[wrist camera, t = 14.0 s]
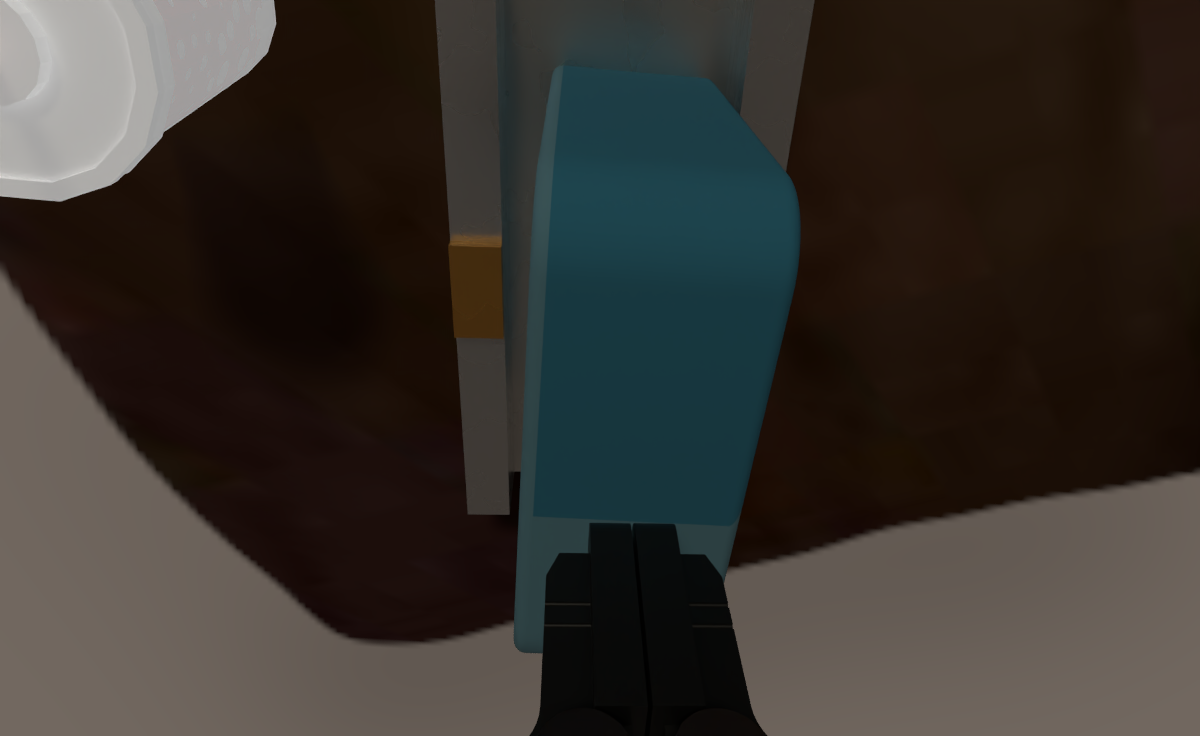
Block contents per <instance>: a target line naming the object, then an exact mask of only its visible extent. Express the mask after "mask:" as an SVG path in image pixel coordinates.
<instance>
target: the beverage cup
mask: <svg viewBox="0 0 1200 736" xmlns="http://www.w3.org/2000/svg"><path fill="white" fill-rule="evenodd" d="M275 26H276V17H275V8H274V0H0V196H5V197H16V198H27V199H38V200H50V201H63V200H66V199H69V198H72V197H75V196H78V195H81V194H84V193H87V192H90V191H94V190H97V189H100V188H103V187H106V186H109V185H111V184H113V183H115V182H117V181H118V180H119V179H120V178H121V177H122V176H123V175H124V174H126V173H129V172H130V171H131V170H132V169H133V168H134V167H135V166H136V165H137V163H138V162H139V161H140V160H141V159H142V158H143V157H144V156H145V155H146V154H147V153H148V152H149V151H150V149H151V148H152V147H153V146H154V145H155V144H156V143H157V142H158V141H159V140H160V139H161V138H162V136H163V132H165V131H166V130H167V129H169V128H170V127H172V126H173V125H175V124H176V123H177V122H179V121H180V120H182V119H183V118H185V117H186V116H187V115H189V114H190V113H192V112H193V111H194V110H196V109H197V108H199V107H200V106H202V105H203V104H204V103H206V102H207V101H209V100H210V99H212V98H213V97H214V96H216V95H217V94H219V93H220V92H221V91H223V90H224V89H226V88H227V87H229V86H230V85H231V84H233V83H234V82H236V81H237V80H239V79H240V78H241V77H243V76H244V75H246V74H247V73H248V72H249V71H250V70H251V69H252V68H253V67H254V66H255V65H256V64H257V63H258V62H259V61H260V60H261V59H262V58H263V57H264V56H265V55H266V53H267V52H268V49H269V46H270V42H271V39H272V36H273V32H274V29H275Z"/></svg>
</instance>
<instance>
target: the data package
mask: <svg viewBox="0 0 1200 736" xmlns="http://www.w3.org/2000/svg"><path fill="white" fill-rule="evenodd" d="M799 253H800V212H799V204H798V198H797V194H796V190H795V187H794V185H793V182H792V180H791V179H790V177H789V175H788V174H787V173H786V172H785V170H784V169H783V168H782V167H781V165H780V164H779V163H778V162H777V160H776V159H775V158H774V157H773V156H772V154H771V153H770V152H769V151H768V149H767V148H766V147H765V146H764V144H763V143H762V142H761V141H760V139H759V138H758V137H757V136H756V135H755V133H754V132H753V131H752V130H751V128H750V127H749V126H748V125H747V123H746V122H745V121H744V120H743V118H742V117H741V116H740V115H739V114H738V112H737V111H736V110H735V109H734V107H733V106H732V105H731V104H730V102H729V101H728V100H727V99H726V97H725V96H724V95H723V94H722V92H721V91H720V90H719V89H718V88H717V86H716V85H715V84H714V83H713V82H712V81H711V80H710V79H707V78H698V77H687V76H676V75H665V74H653V73H642V72H631V71H620V70H608V69H597V68H586V67H575V66H563V65H562V66H558V67H557V68H555V70H554V71H553V74H552V79H551V85H550V91H549V97H548V103H547V109H546V115H545V121H544V127H543V134H542V140H541V146H540V152H539V158H538V164H537V171H536V181H535V192H534V204H533V218H532V234H531V251H530V272H529V295H528V318H527V341H526V364H525V386H524V409H523V432H522V455H521V478H520V501H519V524H518V547H517V570H516V593H515V616H514V644H515V646H516V648H517V649H518V650H519V651H521V652H524V653H543V634H544V611H545V588H546V575H547V573H548V571H549V569H550V568H551V566H552V564H553V563H554V561H555V559H556V557H557V556H558V554H559V553H588V537H589V523H630V524H631V529H632V526H633V523H663V524H675V526H676V530H677V536H678V542H679V548H680V554H705V555H706V556H707V557H708V559H709V560H710V561H711V563H712V564H713V565H714V567H715V568H716V569H717V571H718V572H719V573H720V575H721V576H722V579H723V583H724V580H725V576H726V572H727V568H728V564H729V559H730V555H731V551H732V547H733V543H734V539H735V534H736V530H737V526H738V522H739V518H740V514H741V509H742V505H743V501H744V497H745V493H746V489H747V484H748V480H749V476H750V472H751V468H752V464H753V459H754V455H755V451H756V447H757V443H758V439H759V434H760V430H761V426H762V422H763V418H764V414H765V409H766V405H767V401H768V397H769V393H770V389H771V384H772V380H773V376H774V372H775V368H776V364H777V359H778V355H779V351H780V347H781V343H782V339H783V334H784V330H785V326H786V322H787V318H788V314H789V309H790V305H791V301H792V297H793V292H794V288H795V283H796V277H797V271H798V263H799Z"/></svg>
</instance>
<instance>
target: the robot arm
mask: <svg viewBox="0 0 1200 736" xmlns="http://www.w3.org/2000/svg"><path fill="white" fill-rule="evenodd" d="M732 624H733V623H732V619H731V614H730V610H729V608H728V601H727V597H726V592H725V588H724V583H723V579H722V576H721V575H720V573H719V572H718V571H717V569H716V568H715V567H714V565H713V564H712V563H711V561H710V560H709V559H708V557H707V556H706V555H705V554H680V548H679V542H678V536H677V530H676V526H675V524H663V523H633V526H632V529H631V524H630V523H589V537H588V553H559V554H558V556H557V557H556V559H555V561H554V563H553V564H552V566H551V568H550V569H549V571H548V573H547V575H546V588H545V611H544V634H543V659H542V681H541V682H542V683H541V705H540V713H539V717H538V721H537V724H536V726H535V727H534V729H533V731H532V733H531V734H530V736H767V735H766V734H765V732H763V730H762V729H761V727H760V726H759V724H758V722H757V721H756V719H755V716H754V714H753V711H752V708H751V704H750V699H749V695H748V691H747V686H746V681H745V677H744V673H743V668H742V664H741V659H740V655H739V650H738V646H737V641H736V637H735V632H734V629H733V627H732Z"/></svg>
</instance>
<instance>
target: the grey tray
mask: <svg viewBox="0 0 1200 736" xmlns="http://www.w3.org/2000/svg"><path fill="white" fill-rule="evenodd" d="M813 6H814V0H435V8H436V24H437V40H438V55H439V71H440V86H441V102H442V117H443V133H444V148H445V164H446V179H447V195H448V211H449V226H450V243H449V246H448V247H449V262H450V277H451V293H452V308H453V323H454V338H457V350H458V366H459V382H460V397H461V413H462V428H463V444H464V459H465V475H466V490H467V506H468V514H493V515H510V507H511V498H512V489H513V481H514V472H515V471H519V472H521V455H522V432H523V409H524V386H525V364H526V341H527V318H528V295H529V272H530V251H531V234H532V218H533V204H534V192H535V181H536V171H537V164H538V158H539V152H540V146H541V140H542V134H543V127H544V121H545V115H546V109H547V103H548V97H549V91H550V85H551V79H552V74H553V71H554V70H555V68H557V67H558V66H562V65H563V66H575V67H586V68H597V69H608V70H620V71H631V72H642V73H653V74H665V75H676V76H687V77H698V78H707V79H710V80H711V81H712V82H713V83H714V84H715V85H716V86H717V88H718V89H719V90H720V91H721V92H722V94H723V95H724V96H725V97H726V99H727V100H728V101H729V102H730V104H731V105H732V106H733V107H734V109H735V110H736V111H737V112H738V114H739V115H740V116H741V117H742V118H743V120H744V121H745V122H746V123H747V125H748V126H749V127H750V128H751V130H752V131H753V132H754V133H755V135H756V136H757V137H758V138H759V139H760V141H761V142H762V143H763V144H764V146H765V147H766V148H767V149H768V151H769V152H770V153H771V154H772V156H773V157H774V158H775V159H776V160H777V162H778V163H779V164H780V165H781V167H782V168H783V169H784V170H785V172H786V168H787V162H788V156H789V150H790V144H791V138H792V132H793V126H794V120H795V114H796V108H797V102H798V96H799V90H800V84H801V78H802V72H803V66H804V60H805V54H806V48H807V42H808V36H809V30H810V24H811V18H812V12H813Z"/></svg>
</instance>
